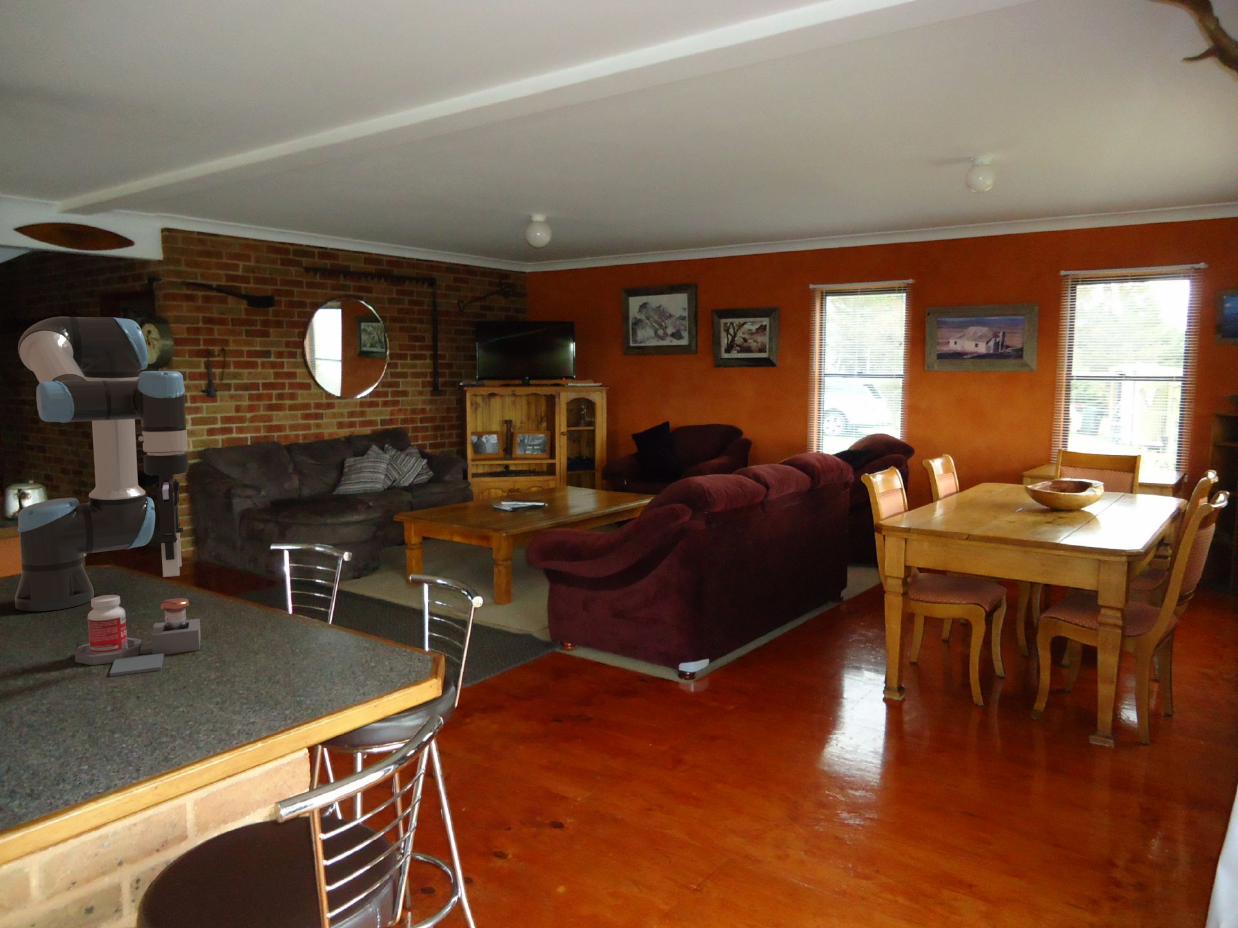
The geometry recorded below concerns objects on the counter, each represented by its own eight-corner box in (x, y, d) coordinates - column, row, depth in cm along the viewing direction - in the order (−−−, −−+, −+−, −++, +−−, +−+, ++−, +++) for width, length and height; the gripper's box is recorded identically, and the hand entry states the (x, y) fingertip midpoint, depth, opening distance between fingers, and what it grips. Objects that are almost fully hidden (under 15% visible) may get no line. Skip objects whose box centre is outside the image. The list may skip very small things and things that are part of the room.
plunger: (163, 629, 169) (161, 599, 169) (190, 626, 171) (188, 597, 171) (161, 636, 165) (159, 606, 164) (189, 633, 167) (187, 603, 166)
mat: (115, 661, 160) (115, 658, 160) (164, 655, 163) (163, 652, 163) (109, 676, 153) (109, 673, 153) (161, 669, 156) (160, 666, 156)
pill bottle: (129, 656, 163) (125, 599, 162) (91, 662, 160) (87, 604, 158) (126, 647, 168) (122, 591, 167) (89, 652, 165) (85, 596, 164)
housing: (81, 649, 167) (80, 629, 166) (200, 636, 175) (199, 616, 174) (72, 667, 157) (71, 646, 157) (199, 652, 166) (198, 631, 165)
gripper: (147, 448, 172) (154, 561, 174) (138, 459, 153) (146, 585, 156) (189, 446, 175) (196, 558, 177) (185, 457, 156) (192, 581, 159)
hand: (172, 570), depth 167 cm, fingers open, 7 cm apart
